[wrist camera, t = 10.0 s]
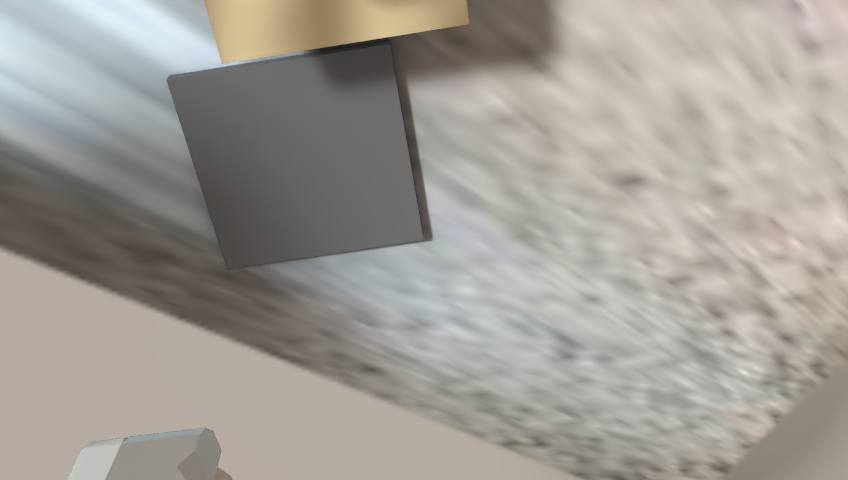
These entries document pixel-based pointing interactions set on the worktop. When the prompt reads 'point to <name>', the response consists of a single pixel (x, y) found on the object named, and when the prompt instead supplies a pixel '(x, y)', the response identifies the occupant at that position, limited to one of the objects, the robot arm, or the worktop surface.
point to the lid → (321, 23)
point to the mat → (301, 154)
